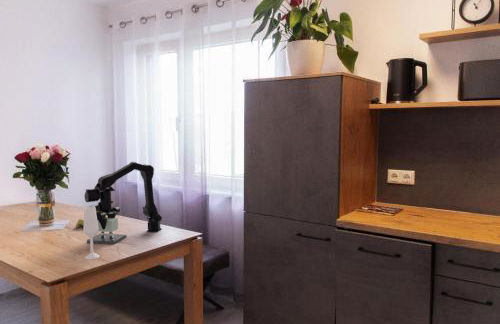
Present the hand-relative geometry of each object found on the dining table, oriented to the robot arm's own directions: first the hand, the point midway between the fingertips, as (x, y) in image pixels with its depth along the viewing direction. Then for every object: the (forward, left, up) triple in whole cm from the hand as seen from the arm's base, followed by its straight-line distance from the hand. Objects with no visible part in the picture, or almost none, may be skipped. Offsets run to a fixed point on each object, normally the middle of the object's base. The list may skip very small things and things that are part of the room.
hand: (106, 227), depth 211 cm
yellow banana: (+28, -29, -7) cm, 40 cm away
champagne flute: (-8, +26, -7) cm, 28 cm away
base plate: (0, 0, -7) cm, 7 cm away
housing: (0, 0, -1) cm, 1 cm away
